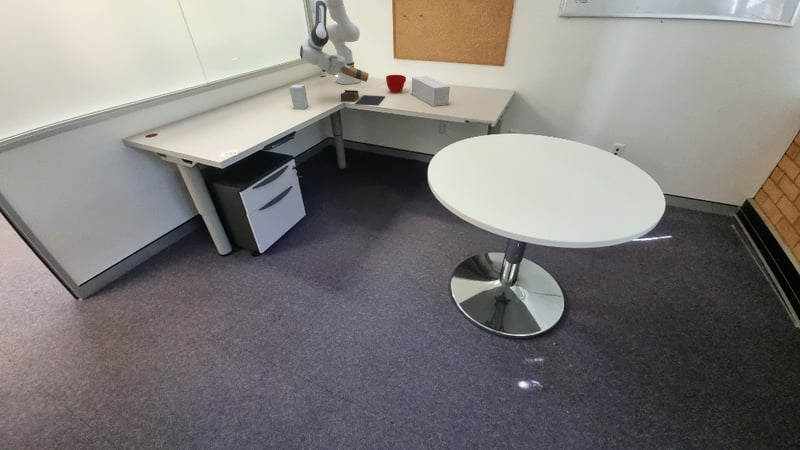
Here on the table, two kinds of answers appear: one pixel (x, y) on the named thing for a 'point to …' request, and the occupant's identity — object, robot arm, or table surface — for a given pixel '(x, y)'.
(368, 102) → the mat
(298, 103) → the white packaging box
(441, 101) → the long light grey block
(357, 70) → the paper roll
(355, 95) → the cradle
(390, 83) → the ceramic cup
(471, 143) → the table surface
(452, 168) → the table surface
